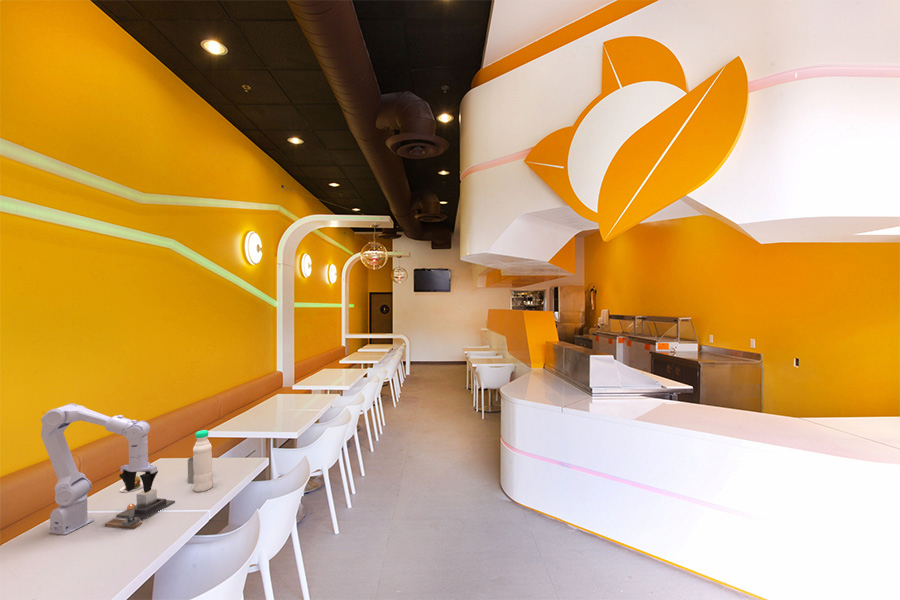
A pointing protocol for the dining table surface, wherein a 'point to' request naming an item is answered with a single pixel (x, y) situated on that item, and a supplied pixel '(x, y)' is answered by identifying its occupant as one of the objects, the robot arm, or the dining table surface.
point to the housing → (146, 499)
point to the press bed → (148, 509)
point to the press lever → (130, 516)
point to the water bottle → (202, 462)
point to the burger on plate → (137, 484)
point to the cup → (190, 471)
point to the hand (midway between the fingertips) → (139, 490)
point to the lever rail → (118, 524)
